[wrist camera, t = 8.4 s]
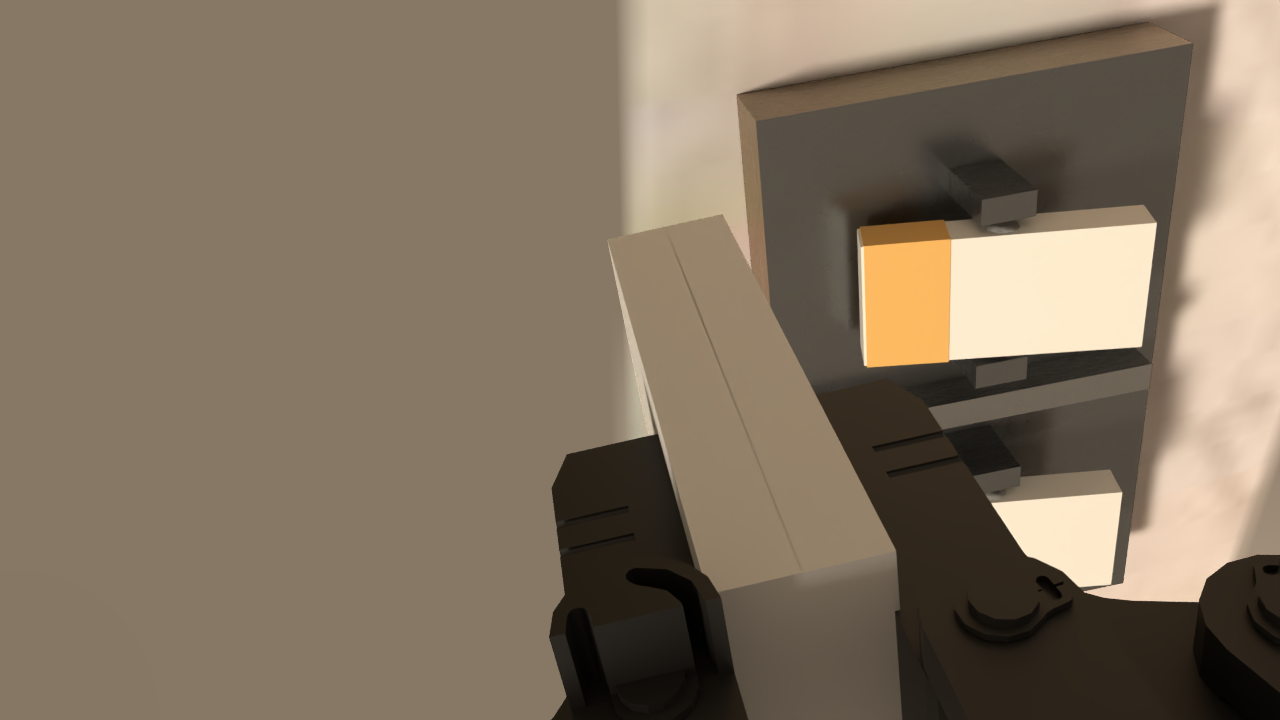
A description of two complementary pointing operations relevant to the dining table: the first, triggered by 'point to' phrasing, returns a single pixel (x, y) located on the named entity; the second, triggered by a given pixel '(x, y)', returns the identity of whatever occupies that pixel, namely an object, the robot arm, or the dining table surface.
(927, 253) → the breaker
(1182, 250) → the dining table surface
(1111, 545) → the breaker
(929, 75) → the breaker box
